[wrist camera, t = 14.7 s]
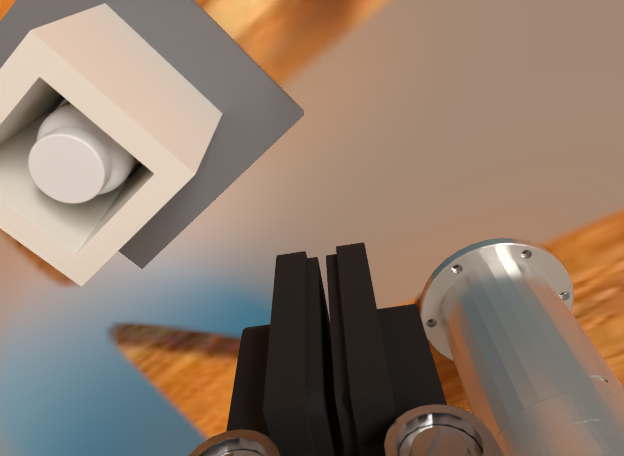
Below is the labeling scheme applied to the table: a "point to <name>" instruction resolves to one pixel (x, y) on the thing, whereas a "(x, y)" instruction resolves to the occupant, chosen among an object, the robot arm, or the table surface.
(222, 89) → the mat
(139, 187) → the sleeve
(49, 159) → the supplement bottle
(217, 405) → the table surface
